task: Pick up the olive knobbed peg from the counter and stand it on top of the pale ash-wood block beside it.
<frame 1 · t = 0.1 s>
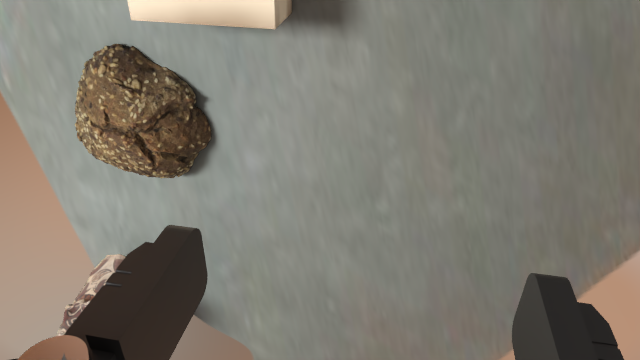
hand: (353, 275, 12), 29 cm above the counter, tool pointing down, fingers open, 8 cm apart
bread roll: (149, 115, 46), on the counter
figurine: (126, 275, 58), on the counter
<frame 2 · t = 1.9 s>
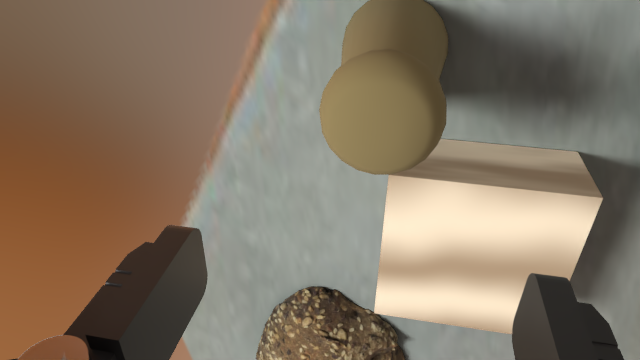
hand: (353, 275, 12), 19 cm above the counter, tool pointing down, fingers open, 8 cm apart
bread roll: (333, 340, 43), on the counter
olive knobbed peg: (394, 47, 28), on the counter
ash block: (467, 214, 32), on the counter
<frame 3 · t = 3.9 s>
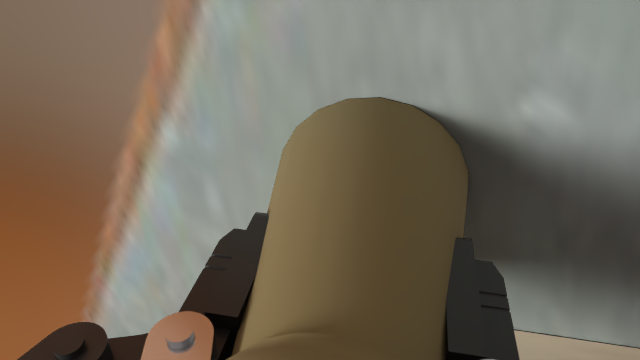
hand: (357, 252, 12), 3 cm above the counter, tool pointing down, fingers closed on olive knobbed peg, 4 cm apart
olive knobbed peg: (371, 182, 15), on the counter, touching gripper
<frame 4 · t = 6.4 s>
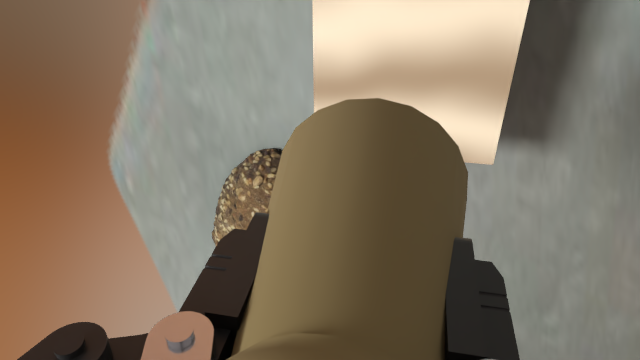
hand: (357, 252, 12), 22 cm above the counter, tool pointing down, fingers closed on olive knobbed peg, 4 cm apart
bread roll: (292, 217, 41), on the counter
olive knobbed peg: (370, 183, 15), point 18 cm above the counter, touching gripper
ash block: (411, 44, 31), on the counter
when the fingers open (10 cm above the counter, at t = 8.8 s): olive knobbed peg stays where it is, resting on ash block.
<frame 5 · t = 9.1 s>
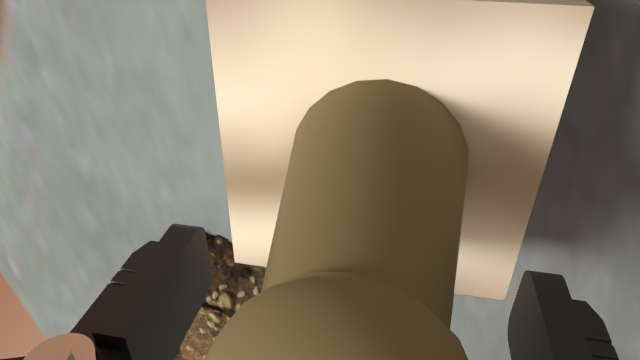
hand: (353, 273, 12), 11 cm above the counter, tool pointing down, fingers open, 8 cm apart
bread roll: (231, 314, 30), on the counter
olive knobbed peg: (377, 160, 17), point 5 cm above the counter, touching ash block
ash block: (383, 106, 21), on the counter
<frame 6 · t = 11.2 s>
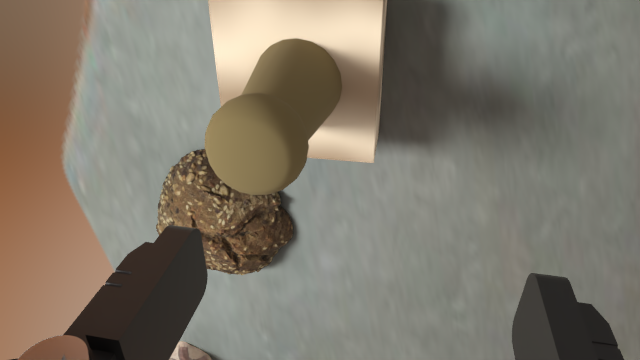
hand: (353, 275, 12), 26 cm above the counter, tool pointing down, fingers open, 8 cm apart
bread roll: (228, 211, 46), on the counter
olive knobbed peg: (298, 82, 32), point 5 cm above the counter, touching ash block
ash block: (310, 62, 36), on the counter
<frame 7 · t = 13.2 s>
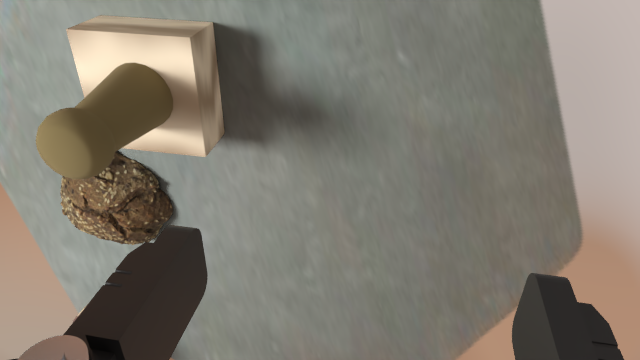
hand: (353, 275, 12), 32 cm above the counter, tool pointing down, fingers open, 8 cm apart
bread roll: (122, 193, 56), on the counter
olive knobbed peg: (141, 95, 42), point 5 cm above the counter, touching ash block
ash block: (165, 77, 46), on the counter
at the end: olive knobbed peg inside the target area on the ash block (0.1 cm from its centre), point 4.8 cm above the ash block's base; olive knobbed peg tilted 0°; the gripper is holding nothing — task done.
